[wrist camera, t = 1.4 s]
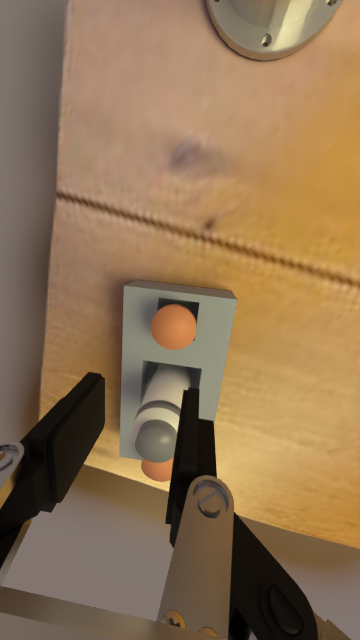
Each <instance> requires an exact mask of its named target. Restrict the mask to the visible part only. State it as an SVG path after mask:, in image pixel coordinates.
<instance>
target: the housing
mask: <svg viewBox="0 0 360 640" xmlns="http://www.w3.org/2000/svg"><path fill="white" fill-rule="evenodd" d="M175 302H182V303H184V304H186V305H187V306H188V307H189V308H190V310H191V312H192V314H193V315H194V317H195V320H196V334H195V337H194V339H193V341H192V342H191V343H190V344H189V345H188V346H186V347H185V348H182V349H179V350H170V349H166V348H164V347H162V346H160V345H159V344H158V343H157V342H156V341H155V340H154V338H153V336H152V333H151V321H152V319H153V317H154V315H155V314H156V313H157V311H158V310H159V309H161V308H162V307H164V306H166V305H170V304H173V303H175ZM236 304H237V298H236V297H235V295H234V294H233V292H232V291H226V290H218V289H210V288H201V287H193V286H185V285H177V284H168V283H160V282H152V281H143V280H136V281H133V282H131V283H129V284H126V285H124V297H123V336H122V375H121V414H120V453H119V456H120V457H126V458H131V459H137V460H143V458H142V457H141V456H140V455H139V454H138V452H137V450H136V448H135V443H134V441H133V438H132V434H131V430H132V426H133V423H134V420H135V417H136V415H137V412H138V410H139V409H140V406H141V404H142V401H143V399H144V396H145V394H146V392H147V389H148V387H149V384H150V382H151V379H152V377H153V374H154V372H155V369H156V367H157V365H158V363H166V364H173V365H180V366H187V367H191V371H192V377H191V388H198V389H200V394H199V418H200V419H206V420H212V421H213V422H214V421H215V416H216V411H217V405H218V400H219V395H220V389H221V384H222V379H223V373H224V368H225V363H226V358H227V352H228V347H229V342H230V336H231V331H232V326H233V320H234V315H235V310H236Z"/></svg>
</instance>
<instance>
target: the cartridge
mask: <svg viewBox="0 0 360 640" xmlns="http://www.w3.org/2000/svg"><path fill="white" fill-rule="evenodd" d="M191 377H192V371H191V367H187V366H180V365H173V364H166V363H158V365H157V367H156V369H155V372H154V374H153V377H152V379H151V382H150V384H149V387H148V389H147V392H146V394H145V396H144V399H143V401H142V404H141V406H140V409H139V410H138V412H137V415H136V417H135V420H134V423H133V426H132V430H131V434H132V438H133V441H134V443H135V448H136V450H137V452H138V454H139V455H140V456H141V457H142V458H144V459H146V460H148V461H150V462H154V463H163V462H166V461H169V460H170V459H171V458H173V456H174V451H175V445H176V438H177V431H178V424H179V417H180V411H181V404H182V397H183V390H188V387H191Z"/></svg>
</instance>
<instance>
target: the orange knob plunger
mask: <svg viewBox="0 0 360 640" xmlns="http://www.w3.org/2000/svg"><path fill="white" fill-rule="evenodd" d="M173 458H174V456H173ZM173 458H171V459H170V460H169V461H166V462H163V463H154V462H150V461H148V460H146V459H144V458H143V460H142V464H141V467H142V471H143V472H144V474H145V475H146V476H147V477H149V478H150V479H152V480H155V481H161V482H163V481H169V480H171V474H172V466H173Z"/></svg>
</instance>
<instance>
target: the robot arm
mask: <svg viewBox="0 0 360 640" xmlns="http://www.w3.org/2000/svg"><path fill="white" fill-rule="evenodd" d="M342 1H343V0H206V4H207V9H208V11H209V14H210V17H211V20H212V23H213V25H214V26H215V28H216V30H217V32H218V33H219V35H220V37H221V38H222V39H223V40H224V41H225V42H226V43H227V44H228V46H229V47H231V48H232V49H233V50H235V51H236V52H238V53H239V54H240V55H243V56H246V57H248V58H251V59H256V60H265V61H266V60H274V59H280V58H282V57H285V56H288V55H291V54H293V53H295V52H296V51H298V50H300V49H301V48H303V47H305V46H306V45H307V44H308V43H310V42H311V41H312V40H313V39H314V38H315V37H316V36H318V35H319V34H320V32H321V31H322V30H323V29H324V28H325V27H326V25H327V24H328V23H329V22H330V21H331V19H332V18H333V16H334V14H335V13H336V11H337V10H338V8H339V6H340V5H341V3H342ZM264 46H265V47H264ZM199 394H200V389H198V388H191V387H188V390H183V397H182V404H181V411H180V417H179V424H178V431H177V438H176V445H175V451H174V458H173V466H172V474H171V482H170V490H169V498H168V506H167V514H166V522H165V523H166V524H171V530H170V543H171V545H172V546H173V548H174V550H173V555H172V559H171V563H170V567H169V571H168V575H167V580H166V584H165V587H164V592H163V596H162V600H161V604H160V608H159V612H158V616H157V621H152V620H147V619H143V618H139V617H134V616H130V615H126V614H121V613H117V612H113V611H108V610H104V609H100V608H96V607H91V606H87V605H83V604H78V603H74V602H69V601H65V600H60V599H56V598H51V597H47V596H43V595H38V594H34V593H29V592H25V591H20V590H16V589H11V588H7V587H2V586H1V585H2V583H3V581H4V579H5V576H6V574H7V572H8V570H9V568H10V566H11V564H12V562H13V560H14V558H15V556H16V553H17V551H18V549H19V547H20V545H21V543H22V541H23V539H24V537H25V535H26V533H27V530H28V528H29V526H30V524H31V522H32V519H33V517H35V516H37V515H38V513H39V512H40V511H46V512H52V510H53V509H54V507H55V505H56V503H60V502H61V501H62V500H63V499H64V497H65V495H66V493H67V492H68V490H69V488H70V486H71V484H72V483H73V481H74V479H75V478H76V476H77V474H78V472H79V470H80V469H81V467H82V465H83V463H84V462H85V460H86V458H87V456H88V455H89V453H90V451H91V449H92V448H93V446H94V444H95V442H96V440H97V439H98V437H99V435H100V433H101V432H102V430H103V428H104V424H105V378H104V377H102V375H101V374H99V373H92V372H89V373H87V374H86V375H85V376H84V377H83V379H82V380H81V381H80V382H79V383H78V384H77V385H76V386H75V387H74V388H73V389H72V390H71V391H70V392H69V393H68V394H67V395H66V396H65V397H64V398H62V399H61V400H60V401H59V402H58V403H57V404H56V405H55V406H54V407H53V408H52V409H51V410H50V411H49V412H48V413H47V414H46V415H45V416H44V417H43V418H42V419H41V420H40V421H39V422H38V423H37V425H36V426H35V427H34V428H33V429H32V430H31V431H30V432H29V433H28V434H27V435H26V436H25V437H24V438H23V439H22V440H21V441H20V442H16V441H5V442H1V443H0V640H351V639H350V638H349V637H348V636H346V635H345V634H344V633H343V632H342V631H341V630H340V629H339V628H337V627H336V626H335V625H334V624H333V623H332V622H331V621H330V620H329V619H327V621H326V622H325V621H324V620H322V619H321V618H320V617H319V616H318V615H317V614H316V613H314V611H313V610H312V608H311V606H310V604H309V602H308V600H307V598H306V596H305V595H304V593H303V592H302V590H301V589H300V588H299V586H298V585H297V584H296V582H295V581H294V580H293V579H292V578H291V577H290V576H289V574H288V573H287V572H286V571H285V570H284V569H283V568H282V567H281V565H280V564H279V563H278V562H277V561H276V559H275V558H274V557H273V556H272V555H271V554H270V553H269V551H268V550H267V549H266V548H265V547H264V546H263V545H262V543H261V542H260V541H259V540H258V539H257V538H256V537H255V535H254V534H253V533H252V532H251V531H250V530H249V528H248V527H247V526H246V525H245V524H244V523H243V521H242V520H241V519H240V518H239V517H238V516H237V515H236V513H235V512H234V501H233V497H232V494H231V491H230V490H229V488H228V487H227V486H226V484H225V483H223V482H222V481H221V480H220V479H218V478H217V472H216V455H215V437H214V422H213V421H212V420H206V419H200V418H199Z"/></svg>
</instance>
